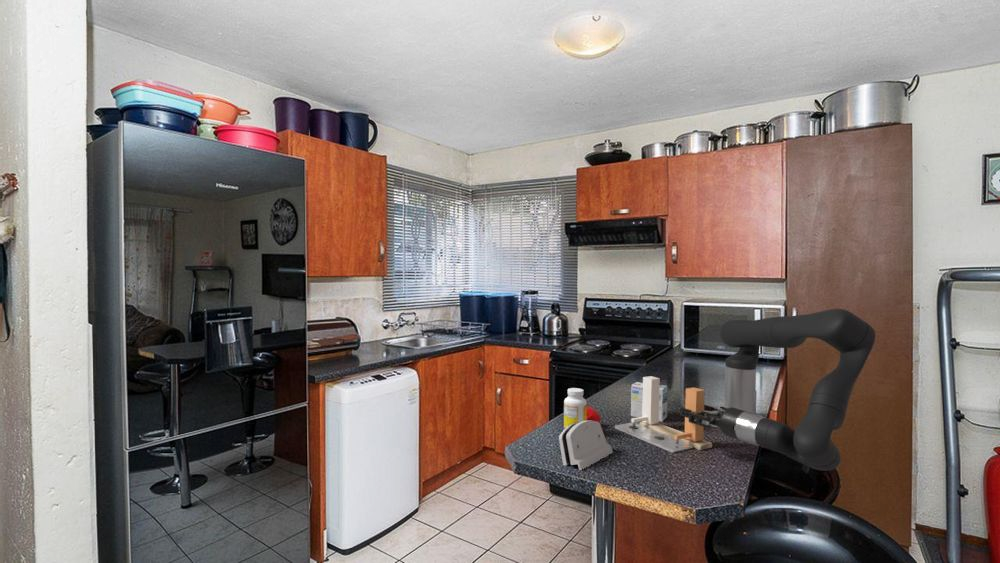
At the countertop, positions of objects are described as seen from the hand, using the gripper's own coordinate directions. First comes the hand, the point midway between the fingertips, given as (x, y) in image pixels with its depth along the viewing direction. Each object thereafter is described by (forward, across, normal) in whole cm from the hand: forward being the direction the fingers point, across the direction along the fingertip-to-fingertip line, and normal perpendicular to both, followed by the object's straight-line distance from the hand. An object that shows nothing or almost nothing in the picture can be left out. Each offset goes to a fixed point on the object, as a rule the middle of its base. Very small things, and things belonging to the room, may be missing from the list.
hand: (691, 409), depth 130 cm
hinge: (+5, +34, +10) cm, 36 cm away
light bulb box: (+23, -8, +10) cm, 26 cm away
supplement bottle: (+21, +25, +10) cm, 34 cm away
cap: (+24, +17, +10) cm, 31 cm away
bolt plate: (+8, +7, +10) cm, 14 cm away
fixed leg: (+15, +3, +8) cm, 17 cm away
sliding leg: (-1, +3, +8) cm, 9 cm away
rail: (+6, 0, +10) cm, 11 cm away
